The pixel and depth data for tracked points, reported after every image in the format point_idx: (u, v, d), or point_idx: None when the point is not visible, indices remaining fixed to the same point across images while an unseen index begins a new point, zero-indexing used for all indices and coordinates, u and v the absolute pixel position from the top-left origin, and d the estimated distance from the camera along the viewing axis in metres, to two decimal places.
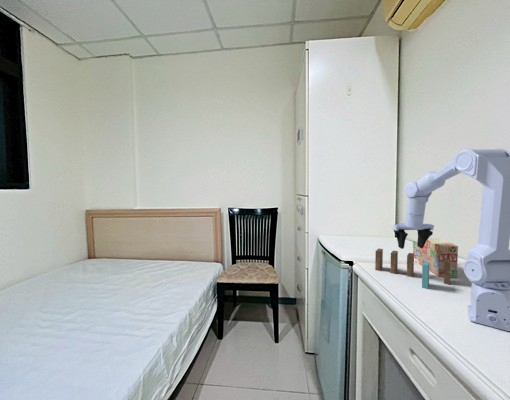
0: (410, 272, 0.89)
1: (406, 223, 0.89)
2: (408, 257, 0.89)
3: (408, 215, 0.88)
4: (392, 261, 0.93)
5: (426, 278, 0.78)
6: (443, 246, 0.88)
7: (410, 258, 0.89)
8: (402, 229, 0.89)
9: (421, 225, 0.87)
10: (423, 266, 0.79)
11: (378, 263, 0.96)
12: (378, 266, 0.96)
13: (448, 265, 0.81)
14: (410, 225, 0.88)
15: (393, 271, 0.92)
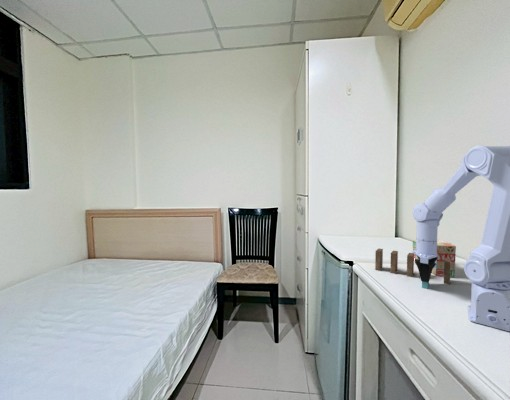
0: (410, 272, 0.89)
1: (425, 252, 0.78)
2: (408, 257, 0.89)
3: (427, 242, 0.77)
4: (392, 261, 0.93)
5: None
6: (441, 246, 0.88)
7: (410, 258, 0.89)
8: None
9: None
10: None
11: (378, 263, 0.96)
12: (378, 266, 0.96)
13: (448, 265, 0.81)
14: (431, 253, 0.77)
15: (393, 271, 0.92)
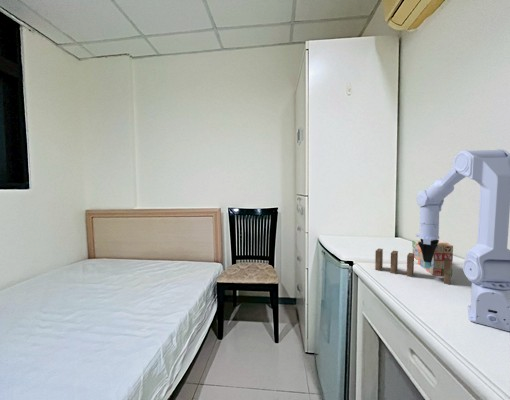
0: (410, 272, 0.89)
1: (428, 235, 0.85)
2: (408, 257, 0.89)
3: (430, 226, 0.84)
4: (392, 261, 0.93)
5: None
6: (438, 245, 0.89)
7: (410, 258, 0.89)
8: None
9: None
10: None
11: (378, 263, 0.96)
12: (378, 266, 0.96)
13: (448, 265, 0.81)
14: (433, 236, 0.84)
15: (393, 271, 0.92)
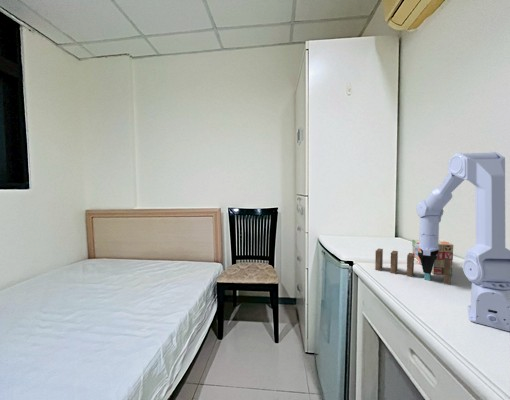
0: (410, 272, 0.89)
1: (427, 245, 0.85)
2: (408, 257, 0.89)
3: (429, 236, 0.84)
4: (392, 261, 0.93)
5: None
6: (438, 244, 0.90)
7: (410, 258, 0.89)
8: None
9: None
10: None
11: (378, 263, 0.96)
12: (378, 266, 0.96)
13: (448, 265, 0.81)
14: (433, 246, 0.84)
15: (393, 271, 0.92)
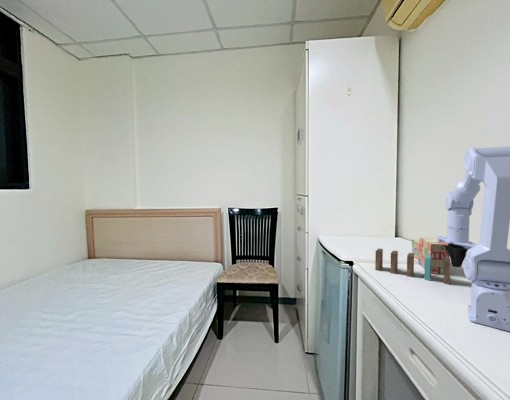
0: (410, 272, 0.89)
1: (465, 240, 0.79)
2: (408, 257, 0.89)
3: (467, 230, 0.79)
4: (392, 261, 0.93)
5: (428, 271, 0.85)
6: (435, 244, 0.91)
7: (410, 258, 0.89)
8: None
9: None
10: (425, 260, 0.86)
11: (378, 263, 0.96)
12: (378, 266, 0.96)
13: (448, 265, 0.81)
14: (468, 240, 0.79)
15: (393, 271, 0.92)
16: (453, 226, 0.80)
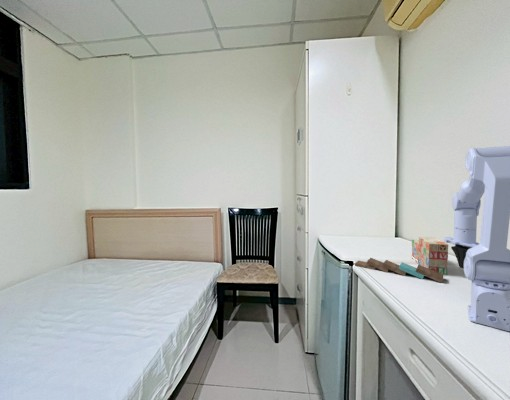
0: (400, 271, 0.91)
1: (472, 241, 0.77)
2: (384, 266, 0.94)
3: (473, 231, 0.77)
4: (375, 265, 0.97)
5: (412, 271, 0.88)
6: (433, 244, 0.91)
7: (385, 265, 0.94)
8: None
9: None
10: (400, 268, 0.91)
11: (367, 266, 0.99)
12: (370, 267, 0.98)
13: (420, 270, 0.87)
14: (475, 241, 0.78)
15: (385, 269, 0.94)
16: (459, 227, 0.79)
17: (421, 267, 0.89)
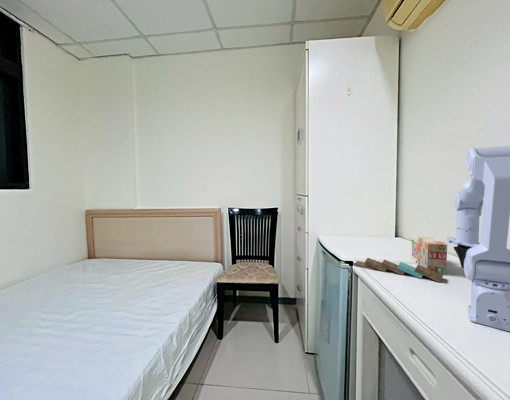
0: (399, 270, 0.91)
1: (474, 241, 0.77)
2: (382, 265, 0.95)
3: (476, 231, 0.77)
4: (373, 265, 0.97)
5: (411, 271, 0.89)
6: (432, 244, 0.91)
7: (384, 264, 0.94)
8: None
9: None
10: (399, 268, 0.91)
11: (366, 267, 0.99)
12: (369, 267, 0.98)
13: (419, 270, 0.87)
14: (478, 242, 0.78)
15: (383, 268, 0.94)
16: (462, 227, 0.79)
17: (420, 267, 0.90)
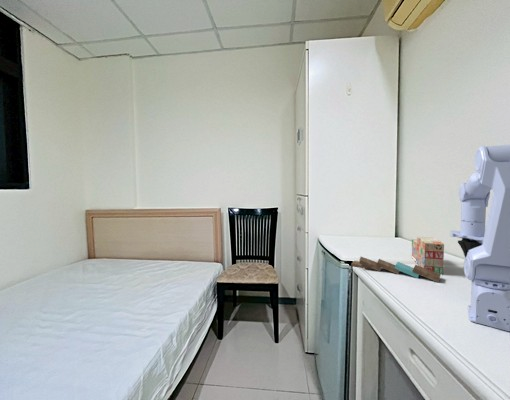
0: (394, 269, 0.92)
1: (480, 234, 0.72)
2: (378, 265, 0.95)
3: (482, 223, 0.72)
4: (367, 265, 0.96)
5: (408, 271, 0.89)
6: (429, 244, 0.92)
7: (379, 264, 0.95)
8: None
9: None
10: (396, 268, 0.92)
11: (363, 266, 0.99)
12: (367, 267, 0.98)
13: (417, 270, 0.87)
14: None
15: (378, 268, 0.95)
16: (467, 219, 0.73)
17: (418, 267, 0.90)
